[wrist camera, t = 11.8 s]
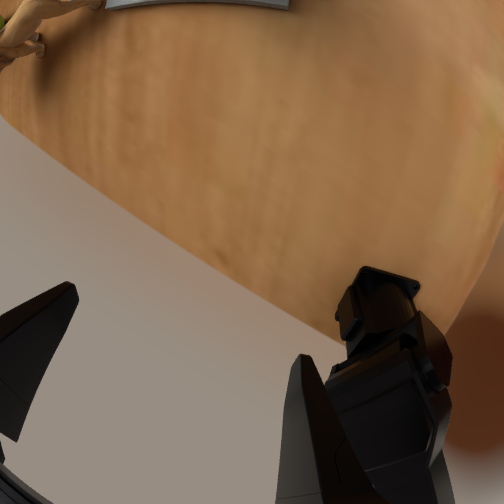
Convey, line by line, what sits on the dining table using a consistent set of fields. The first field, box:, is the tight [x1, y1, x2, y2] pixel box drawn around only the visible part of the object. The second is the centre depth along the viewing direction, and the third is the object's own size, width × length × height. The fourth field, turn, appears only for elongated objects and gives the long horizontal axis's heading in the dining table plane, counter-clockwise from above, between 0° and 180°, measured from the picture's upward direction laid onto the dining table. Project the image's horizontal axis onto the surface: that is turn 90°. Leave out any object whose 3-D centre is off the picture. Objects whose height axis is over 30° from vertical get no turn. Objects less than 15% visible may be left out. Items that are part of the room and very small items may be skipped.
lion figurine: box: [0, 0, 102, 72], centre depth 9 cm, size 15×5×9 cm, turn 113°
